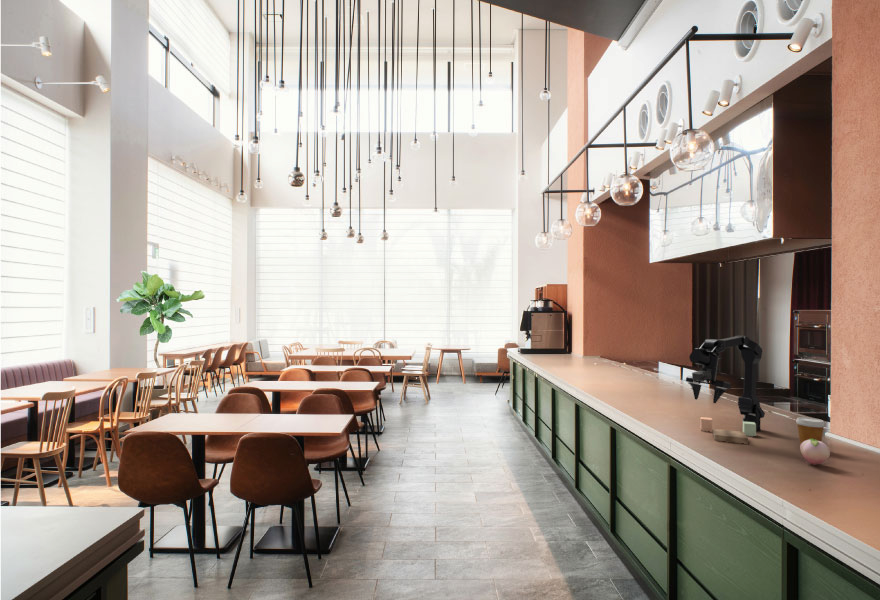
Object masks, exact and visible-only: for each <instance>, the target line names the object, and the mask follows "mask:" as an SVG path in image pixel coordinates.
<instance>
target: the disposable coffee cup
mask: <svg viewBox="0 0 880 600" xmlns="http://www.w3.org/2000/svg"><path fill="white" fill-rule="evenodd" d="M795 422H796V425H797V431H798V438H799V445H800V446H801V444H802V443H803V442H804V441H806V440H809V439H814V437H815V439H816V440H817V441H820V442H822V439H823V433H824V427H825V425H826V424H825V422H824V420H822V419H819V418H814V417H806V416H805V417H804V416H799V417H797V418H796V420H795ZM800 446H799V447H800Z"/></svg>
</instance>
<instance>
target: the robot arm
mask: <svg viewBox="0 0 880 600" xmlns="http://www.w3.org/2000/svg"><path fill="white" fill-rule="evenodd" d="M733 347H736V348H737V350H738V351H739V352H740V357H741V359H742V361H743V363H744V372H743V373H744V375H743V394H742V395H741V396H739V397H738V399H737V400H738V401H737V402H738V403H737V406H738V409H739V414H740V415H743V418H742V422H743V421H744V422H754V423H755V424H756V432H757V431H758V432H762V429H761V419H763V418H765V414H766V412H765V411H764V410H763V408H762V407H761V403H760V400H759V398H758V396H757V380H758V379H757V376H758V375H757V374H758V370H757V369H758V363H760V360H762V356H763V355H762V354H763V348H762V347H761V346H760V345H759V344H758V343H757V342H755V341H754V340H752V339H751V338H749V336H746V335H735V336H731V337H727V338H726V337H725V338H722V339H713V338H712V339H711V338H706V339H705V340H704V342H703V343H702V344H701V346H700V347H699V348H698V347H695V348H694V350H693V351H691V352H690V354H689V361H690V362H691V363H693V364H696V365H701V366H702V367H700V368H699V370H698V371H694V372H692V373H691V375H687V376H686V377H685V382H687V384H688V385H690V386H691V389H692V393H693V397H694V400H696V401H697V400H698V398H699V395H700V393H701V388H702V385H701V384H705V385H712V386H713V390H714V392H713V400H712V403H713V404H717V402H718V400H719V399H720V398H721V397H722V395H724V393H725V392H728V390H731V389H732V388H731V387H732V384H731V382H728V381H723V380H718V379H716V378H717V374H718V373H719V372H720V371H719V370H718V364H719V359H720V360H721V359H723V356H721V354H720V353H722V352H724V351H725V350H726V349H729V348H733Z"/></svg>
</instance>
